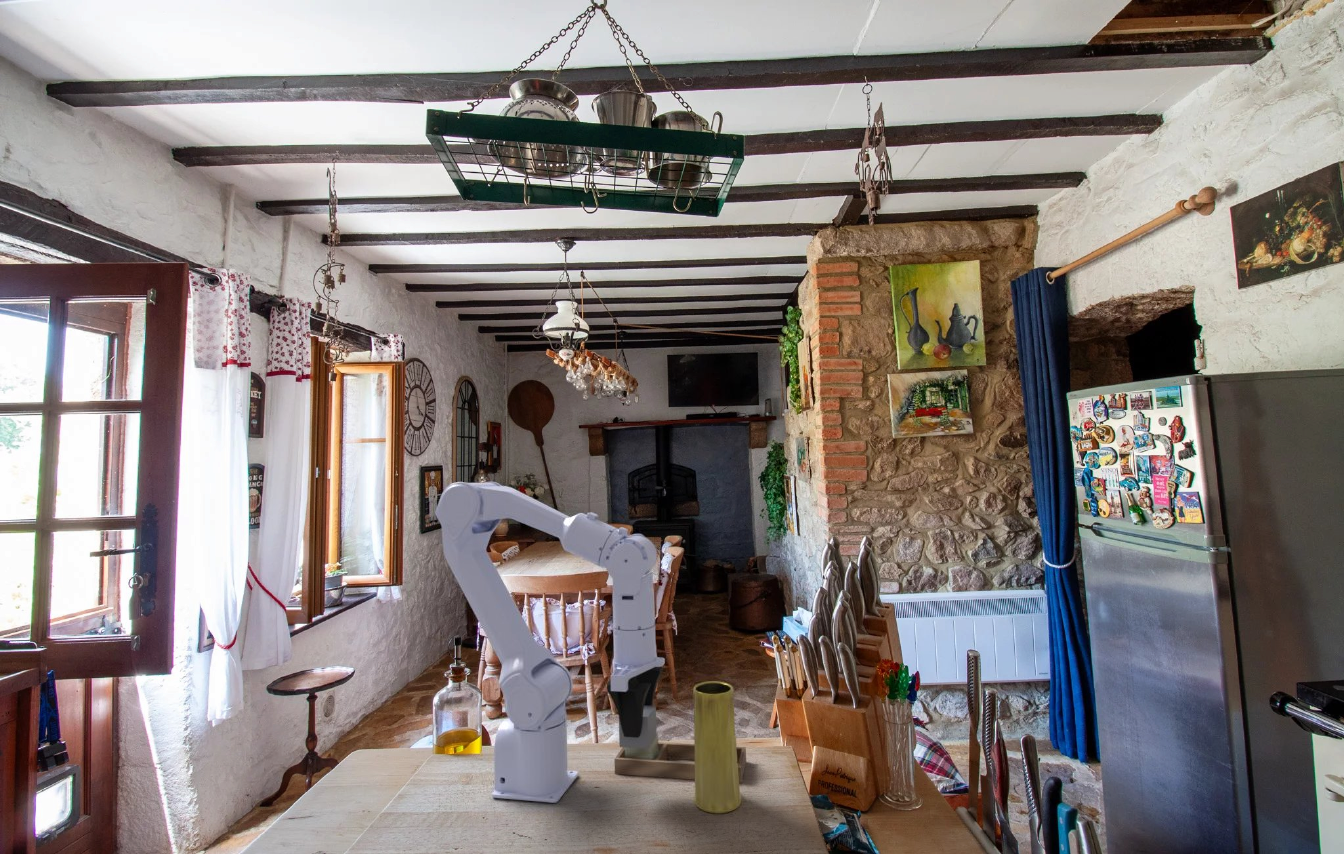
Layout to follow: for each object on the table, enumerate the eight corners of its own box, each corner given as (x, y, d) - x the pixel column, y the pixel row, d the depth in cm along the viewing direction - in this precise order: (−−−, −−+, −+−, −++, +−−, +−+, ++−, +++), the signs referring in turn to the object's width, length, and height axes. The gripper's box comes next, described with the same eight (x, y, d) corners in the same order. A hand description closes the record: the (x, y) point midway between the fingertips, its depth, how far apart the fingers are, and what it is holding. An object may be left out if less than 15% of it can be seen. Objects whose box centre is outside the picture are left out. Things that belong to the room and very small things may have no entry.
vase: (739, 815, 75) (734, 696, 76) (690, 812, 76) (686, 694, 77) (743, 791, 81) (738, 680, 82) (698, 788, 82) (694, 679, 83)
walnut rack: (614, 773, 87) (614, 744, 87) (627, 753, 93) (627, 726, 94) (741, 782, 83) (740, 752, 83) (746, 761, 89) (745, 733, 90)
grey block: (619, 746, 80) (618, 715, 80) (628, 734, 84) (628, 704, 84) (648, 748, 79) (647, 716, 79) (656, 736, 83) (655, 705, 83)
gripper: (647, 640, 75) (651, 754, 74) (675, 614, 89) (678, 710, 88) (593, 638, 77) (596, 750, 75) (629, 613, 91) (631, 707, 89)
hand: (637, 729), depth 82 cm, fingers closed on grey block, 4 cm apart
